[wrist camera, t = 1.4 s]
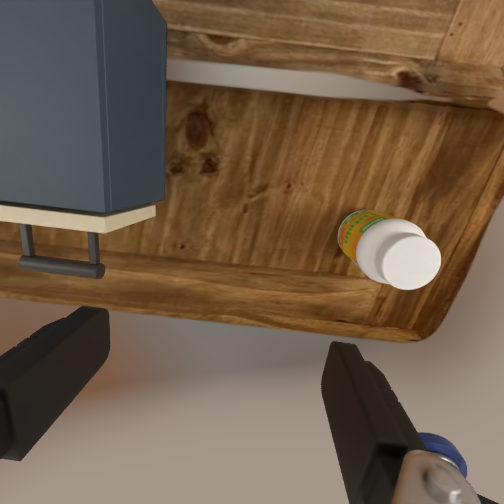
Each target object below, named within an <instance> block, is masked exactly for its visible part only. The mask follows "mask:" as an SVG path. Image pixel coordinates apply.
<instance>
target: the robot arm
mask: <svg viewBox="0 0 504 504" xmlns="http://www.w3.org/2000/svg"><path fill="white" fill-rule="evenodd" d="M109 351H110V327H109V312H108V310H107V309H103V308H96V307H89V306H82V307H80V308H78V309H77V310H76V311H74V312H73V313H71V314H70V315H69V316H67V317H66V318H62V319H59V320H57V321H54V322H52V323H50V324H48V325H45V326H43V327H42V328H41V329H39V330H38V331H36V332H35V333H33V334H32V335H31V336H30V338H26V339H25V340H23V341H22V342H20V343H19V344H18V345H17V347H13V348H12V349H10V350H9V351H7V352H6V353H4V354H3V355H1V356H0V459H9V460H15V461H21V460H22V459H23V458H24V457H25V456H26V454H27V453H28V452H29V451H30V450H31V449H32V447H33V446H34V445H35V444H36V443H37V441H38V440H39V439H40V438H41V437H42V436H43V434H44V433H45V432H46V431H47V430H48V429H49V427H50V426H51V425H52V424H53V423H54V421H55V420H56V419H57V418H58V417H59V416H60V415H61V413H62V412H63V411H64V410H65V409H66V408H67V406H68V405H69V404H70V403H71V402H72V400H73V399H74V398H75V397H76V396H77V395H78V393H79V392H80V391H81V390H82V389H83V387H84V386H85V385H86V384H87V383H88V382H89V380H90V379H91V378H92V377H93V376H94V374H96V372H97V371H98V370H99V369H100V368H101V366H102V365H103V364H104V362H105V361H106V359H107V357H108V354H109ZM321 389H322V390H321V391H322V397H323V401H324V405H325V409H326V413H327V417H328V421H329V424H330V429H331V433H332V437H333V441H334V444H335V449H336V453H337V456H338V461H339V465H340V468H341V472H342V476H343V480H344V484H345V488H346V492H347V496H348V500H349V504H498V503H496V502H494V501H492V500H490V499H487V498H485V497H483V496H481V495H479V494H476V492H475V491H474V489H473V487H472V486H471V485H470V483H469V482H468V481H467V480H466V478H465V477H464V476H463V475H462V474H461V472H460V470H459V468H458V467H457V465H456V464H455V462H454V461H453V460H452V459H451V458H450V457H448V456H447V455H445V454H443V453H440V452H436V451H429V450H427V448H426V446H425V445H424V443H423V441H422V440H421V438H420V436H419V434H418V433H417V431H416V429H415V428H414V426H413V424H412V423H411V421H410V419H409V417H408V416H407V414H406V412H405V410H404V409H403V407H402V406H401V404H400V402H398V399H397V397H396V395H395V393H394V392H393V390H391V387H390V385H389V383H388V381H387V380H386V378H385V376H384V374H383V373H382V372H381V371H380V370H379V369H377V367H375V366H374V365H373V364H372V363H371V362H369V361H364V359H363V357H362V355H361V353H360V351H359V350H358V348H357V346H356V345H355V344H350V343H342V342H336V341H333V342H332V343H331V345H330V348H329V352H328V356H327V359H326V363H325V367H324V371H323V375H322V381H321Z"/></svg>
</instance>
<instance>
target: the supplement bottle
mask: <svg viewBox="0 0 504 504" xmlns="http://www.w3.org/2000/svg"><path fill="white" fill-rule="evenodd" d="M338 243H339V246H340V248H341V249H342V251H343V252H344V253H345V254H346V255H347V256H348V257H349V258H350V259H351V260H352V261H353V262H354V263H355V264H356V265H357V266H358V267H359V268H360V269H361V270H362V272H363V273H364V274H366V275H367V276H368V277H369V278H371V279H372V280H375V281H377V282H380V283H385V284H390V285H392V286H393V287H396V288H398V289H403V290H411V289H417V288H419V287H422V286H424V285H426V284H427V283H429V282H430V281H431V280H432V279H433V278H434V277H435V276H436V274H437V272H438V270H439V268H440V264H441V255H440V251H439V249H438V247H437V246H436V245H435V244H434V243H433V242H432V241H431V240H429V239H427V238H426V236H425V234H424V233H423V231H422V230H421V229H420V228H419V227H418V226H416V225H415V224H413V223H411V222H409V221H406V220H403V219H400V218H397V217H394V216H391V215H388V214H385V213H382V212H379V211H375V210H369V209H364V210H359V211H356V212H354V213H352V214H350V215H349V216H348V217H346V218H345V220H344V221H343V222H342V224H341V225H340V228H339V231H338Z"/></svg>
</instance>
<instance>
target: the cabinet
mask: <svg viewBox="0 0 504 504" xmlns="http://www.w3.org/2000/svg"><path fill="white" fill-rule="evenodd" d="M166 54H167V23H166V21H165V20H164V19H163V17H162V15H161V14H160V12H159V11H158V9H157V8H156V6H155V5H154V3H153V2H152V0H0V200H1V201H9V202H18V203H26V204H34V205H43V206H51V207H60V208H68V209H77V210H85V211H93V212H102V213H106V212H110V211H114V210H119V209H124V208H128V207H133V206H137V205H142V204H147V203H151V202H156V201H160V200H165V132H166Z"/></svg>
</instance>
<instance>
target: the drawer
mask: <svg viewBox="0 0 504 504" xmlns="http://www.w3.org/2000/svg"><path fill="white" fill-rule="evenodd" d="M155 213H156V206H155V205H152V204H142V205H137V206H133V207H128V208H124V209H119V210H114V211H110V212H106V213H102V212H93V211H85V210H77V209H68V208H60V207H51V206H43V205H34V204H26V203H18V202H9V201H1V200H0V221H5V222H14V223H19V227H20V234H21V240H22V247H23V254H24V255H23V256H21V258H20V259H19V262H18V264H19V267H20V268H21V269H23V270H31V271H39V272H47V273H55V274H63V275H71V276H79V277H87V278H95V279H101V278H102V277H103V276H104V273H105V266H104V264H102V263H100V256H99V239H98V233H108V232H111V231H114V230H117V229H119V228H122V227H125V226H128V225H131V224H134V223H137V222H140V221H143V220H146V219H148V218H151V217H154V216H155ZM31 225H39V226H47V227H55V228H63V229H72V230H80V231H87V232H88V246H89V259H90V262H86V261H78V260H69V259H61V258H53V257H45V256H37V255H35V249H34V242H33V234H32V227H31Z"/></svg>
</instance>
